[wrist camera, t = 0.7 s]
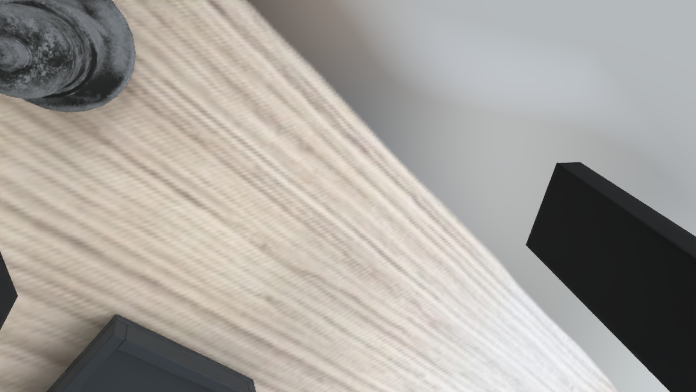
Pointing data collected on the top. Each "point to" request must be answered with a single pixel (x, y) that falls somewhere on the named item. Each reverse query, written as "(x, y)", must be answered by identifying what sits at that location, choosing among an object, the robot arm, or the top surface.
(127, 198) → the top surface
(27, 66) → the salt shaker
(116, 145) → the top surface
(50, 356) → the top surface
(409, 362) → the top surface
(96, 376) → the serving tray
